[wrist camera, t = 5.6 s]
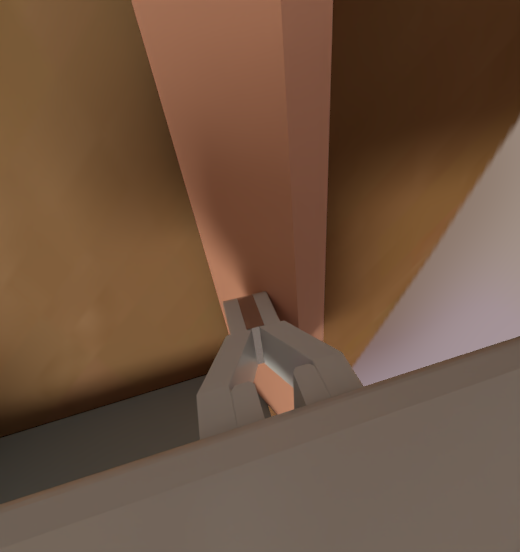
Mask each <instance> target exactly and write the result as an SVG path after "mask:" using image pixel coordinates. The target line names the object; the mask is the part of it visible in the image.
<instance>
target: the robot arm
mask: <svg viewBox="0 0 520 552" xmlns="http://www.w3.org/2000/svg"><path fill="white" fill-rule="evenodd" d="M223 306H224V310H225V314H226V318H227V323H228V327H229V331H230V335H228V336H226V337H225V339H224V341H223V343H222V345H221V347H220V349H219V351H218V353H217V355H216V357H215V359H214V361H213V363H212V365H211V367H210V369H209V371H208V373H207V375H206V377H205V379H204V381H203V383H202V385H201V387H200V389H199V391H198V393H197V395H196V396H197V409H198V422H199V435H200V440H198V441H195V442H192V443H188V444H185V445H182V446H179V447H176V448H173V449H170V450H167V451H164V452H161V453H158V454H154V455H151V456H148V457H145V458H142V459H139V460H136V461H133V462H130V463H127V464H124V465H120V466H117V467H114V468H111V469H108V470H105V471H102V472H99V473H96V474H93V475H90V476H86V477H83V478H80V479H77V480H74V481H71V482H68V483H65V484H62V485H59V486H55V487H52V488H49V489H46V490H43V491H40V492H37V493H34V494H31V495H28V496H24V497H21V498H18V499H15V500H12V501H9V502H6V503H3V504H0V552H520V336H519V337H516V338H513V339H510V340H507V341H503V342H501V343H497V344H494V345H491V346H488V347H485V348H482V349H479V350H476V351H473V352H470V353H466V354H464V355H460V356H457V357H454V358H451V359H448V360H445V361H442V362H439V363H435V364H432V365H429V366H426V367H423V368H420V369H417V370H414V371H411V372H408V373H405V374H401V375H398V376H396V377H392V378H389V379H387V380H383V381H380V382H377V383H374V384H371V385H368V386H363V385H362V383H361V382H360V380H359V378H358V377H357V375H356V374H355V372H354V371H353V369H352V367H351V366H350V364H349V363H348V361H347V360H346V358H345V356H344V355H343V353H342V352H340V351H338V350H337V349H335V348H333V347H331V346H329V345H328V344H326V343H324V342H322V341H320V340H319V339H317V338H315V337H313V336H311V335H310V334H308V333H306V332H304V331H302V330H301V329H299V328H297V327H295V326H293V325H292V324H290V323H288V322H286V321H280V320H279V318H278V316H277V313H276V311H275V309H274V307H273V305H272V303H271V300H270V298H269V296H268V294H267V292H265V291H263V292H259V293H255V294H252V295H248V296H243V297H239V298H235V299H231V300H227V301H223ZM261 363H265V364H266V365H267V366H268V367H269V368H271V369H272V370H273V371H274V372H275V373H276V374H278V375H279V376H280V377H281V378H282V379H283V380H285V381H286V382H287V383H288V384H289V385H291V386H292V387H293V388H294V409H293V410H290V411H287V412H284V413H281V414H278V415H275V416H272V417H269V418H266V419H265V417H264V414H263V411H262V407H261V404H260V400H259V397H258V394H257V390H256V387H255V384H254V383H253V382H254V378H255V375H256V371H257V368H258V364H261Z"/></svg>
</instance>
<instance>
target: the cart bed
mask: <svg viewBox="0 0 520 552" xmlns="http://www.w3.org/2000/svg"><path fill="white" fill-rule="evenodd" d="M205 377H206V375H204V376H201V377H198V378H194V379H191V380H188V381H185V382H181V383H178V384H175V385H172V386H168V387H165V388H162V389H159V390H155V391H152V392H149V393H146V394H142V395H139V396H136V397H133V398H129V399H126V400H123V401H119V402H116V403H113V404H110V405H106V406H103V407H100V408H97V409H93V410H90V411H87V412H84V413H80V414H77V415H74V416H71V417H67V418H64V419H61V420H58V421H54V422H51V423H48V424H45V425H41V426H38V427H35V428H32V429H28V430H25V431H22V432H19V433H15V434H12V435H9V436H6V437H2V438H0V504H3V503H6V502H9V501H12V500H15V499H18V498H21V497H24V496H28V495H31V494H34V493H37V492H40V491H43V490H46V489H49V488H52V487H55V486H59V485H62V484H65V483H68V482H71V481H74V480H77V479H80V478H83V477H86V476H90V475H93V474H96V473H99V472H102V471H105V470H108V469H111V468H114V467H117V466H120V465H124V464H127V463H130V462H133V461H136V460H139V459H142V458H145V457H148V456H151V455H154V454H158V453H161V452H164V451H167V450H170V449H173V448H176V447H179V446H182V445H185V444H188V443H192V442H195V441H198V440H200V435H199V422H198V409H197V396H196V395H197V393H198V391H199V389H200V387H201V385H202V383H203V381H204V379H205ZM257 394H258V393H257ZM258 397H259V400H260V404H261V407H262V411H263V414H264V417H265V419H266V418H269V417H271V414H270V411H269V408H268V404H267V403H266V402H265V401H264V399H263V398H262V397H261V396H260V395H259V394H258Z"/></svg>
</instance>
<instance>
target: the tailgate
mask: <svg viewBox="0 0 520 552" xmlns="http://www.w3.org/2000/svg"><path fill="white" fill-rule="evenodd" d="M131 1H132V5H133V8H134V11H135V15H136V18H137V22H138V25H139V29H140V32H141V35H142V39H143V42H144V46H145V49H146V52H147V56H148V59H149V63H150V66H151V70H152V73H153V76H154V80H155V83H156V87H157V90H158V93H159V97H160V100H161V104H162V107H163V111H164V114H165V117H166V121H167V124H168V128H169V131H170V135H171V138H172V141H173V145H174V148H175V152H176V155H177V158H178V162H179V165H180V169H181V172H182V176H183V179H184V182H185V186H186V189H187V193H188V196H189V199H190V203H191V206H192V210H193V213H194V217H195V220H196V223H197V227H198V230H199V234H200V237H201V240H202V244H203V247H204V251H205V254H206V258H207V261H208V264H209V268H210V271H211V275H212V278H213V281H214V285H215V288H216V292H217V295H218V299H219V302H220V305H221V309H222V312H223V316H224V319H225V322H226V326H227V329H228V333H229V335H230V331H229V327H228V323H227V318H226V314H225V310H224V306H223V301H227V300H231V299H235V298H239V297H243V296H248V295H252V294H255V293H259V292H263V291H265V292H267V294H268V296H269V298H270V300H271V303H272V305H273V307H274V309H275V311H276V313H277V316H278V318H279V320H280V321H286V322H288V323H290V324H292V325H293V326H295V327H297V328H299V329H301V330H302V331H304V332H306V333H308V334H310V335H311V336H313V337H315V338H317V339H319V340H320V341H322V342H323V332H324V297H325V263H326V228H327V193H328V159H329V124H330V90H331V55H332V21H333V0H131ZM253 383H254V384H255V387H256V390H257V393H258V394H259V395H260V396H261V397H262V398H263V399H264V401H265V402H266V403H267V404H268V405H269V406H270V407H271V409H272V410H273V411H274V412H275V413H276V414H277V415H278V414H281V413H284V412H287V411H290V410H293V409H294V388H293V387H292V386H291V385H289V384H288V383H287V382H286V381H285V380H283V379H282V378H281V377H280V376H279V375H278V374H276V373H275V372H274V371H273V370H272V369H271V368H269V367H268V366H267V365H266V364H265V363H261V364H258V368H257V371H256V375H255V378H254V382H253Z"/></svg>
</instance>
